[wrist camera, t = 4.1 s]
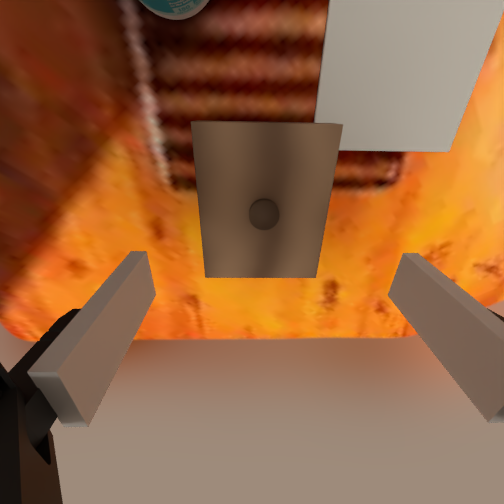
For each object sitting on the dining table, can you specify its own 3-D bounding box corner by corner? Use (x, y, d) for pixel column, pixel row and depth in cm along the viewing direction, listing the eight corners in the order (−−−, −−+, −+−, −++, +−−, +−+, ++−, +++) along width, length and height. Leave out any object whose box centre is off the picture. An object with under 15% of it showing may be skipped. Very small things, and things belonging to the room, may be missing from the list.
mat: (310, 149, 25) (311, 149, 24) (341, -103, 17) (343, -108, 16) (446, 151, 25) (448, 151, 25) (540, -94, 17) (546, -99, 17)
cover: (208, 263, 25) (204, 282, 22) (197, 120, 19) (188, 122, 16) (309, 263, 26) (317, 282, 23) (332, 123, 19) (347, 124, 16)
